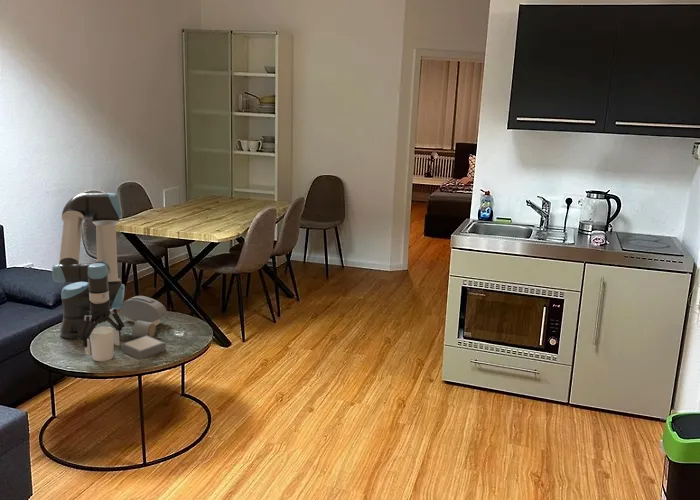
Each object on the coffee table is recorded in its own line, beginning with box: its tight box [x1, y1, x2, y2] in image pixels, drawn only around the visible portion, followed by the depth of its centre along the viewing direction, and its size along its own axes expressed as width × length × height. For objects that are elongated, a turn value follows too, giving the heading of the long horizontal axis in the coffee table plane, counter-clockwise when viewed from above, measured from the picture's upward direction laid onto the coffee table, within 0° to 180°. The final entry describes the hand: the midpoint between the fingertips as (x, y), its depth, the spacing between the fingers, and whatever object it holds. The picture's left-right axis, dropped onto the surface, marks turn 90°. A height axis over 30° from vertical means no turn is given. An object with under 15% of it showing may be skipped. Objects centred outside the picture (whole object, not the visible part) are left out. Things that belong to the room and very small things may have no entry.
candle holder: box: [89, 326, 115, 362], centre depth 260 cm, size 10×10×12 cm
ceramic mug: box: [132, 320, 157, 338], centre depth 285 cm, size 11×8×8 cm
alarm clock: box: [119, 295, 167, 327], centre depth 301 cm, size 23×6×13 cm, turn 69°
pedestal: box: [120, 335, 167, 360], centre depth 269 cm, size 13×13×4 cm
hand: (102, 349), depth 260 cm, fingers open, 13 cm apart
